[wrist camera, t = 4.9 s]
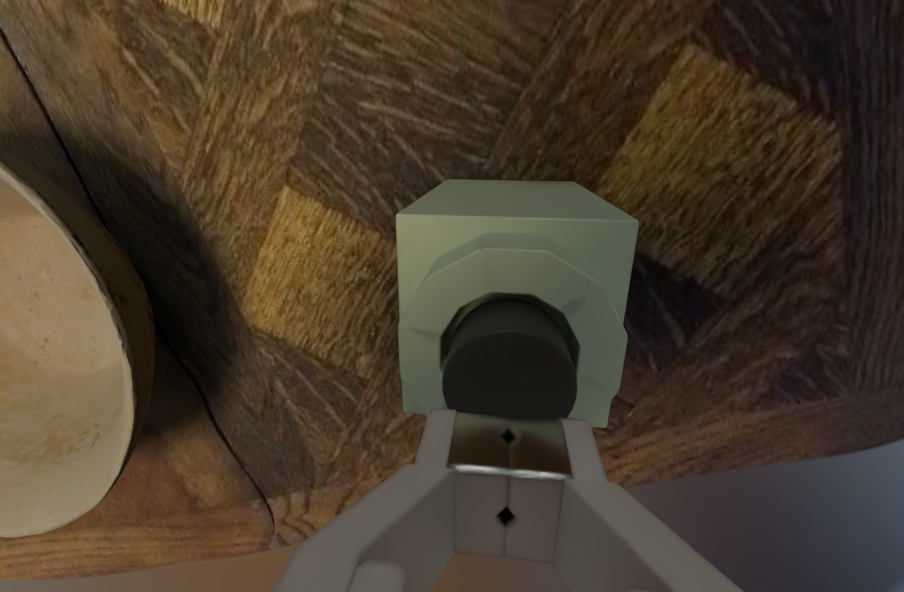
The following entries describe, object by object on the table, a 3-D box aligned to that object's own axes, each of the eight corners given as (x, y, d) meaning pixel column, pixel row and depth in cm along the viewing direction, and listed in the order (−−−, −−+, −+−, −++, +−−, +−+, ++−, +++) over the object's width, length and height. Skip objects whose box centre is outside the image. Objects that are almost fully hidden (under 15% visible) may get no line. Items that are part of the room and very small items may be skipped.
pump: (571, 300, 11) (585, 333, 9) (560, 403, 12) (570, 451, 10) (452, 294, 12) (441, 325, 10) (451, 395, 13) (441, 441, 11)
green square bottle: (574, 181, 23) (665, 235, 10) (562, 302, 25) (622, 472, 12) (446, 179, 24) (375, 226, 11) (446, 296, 26) (388, 451, 13)
